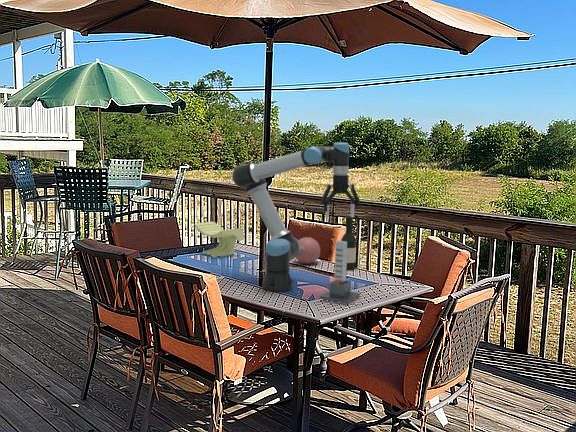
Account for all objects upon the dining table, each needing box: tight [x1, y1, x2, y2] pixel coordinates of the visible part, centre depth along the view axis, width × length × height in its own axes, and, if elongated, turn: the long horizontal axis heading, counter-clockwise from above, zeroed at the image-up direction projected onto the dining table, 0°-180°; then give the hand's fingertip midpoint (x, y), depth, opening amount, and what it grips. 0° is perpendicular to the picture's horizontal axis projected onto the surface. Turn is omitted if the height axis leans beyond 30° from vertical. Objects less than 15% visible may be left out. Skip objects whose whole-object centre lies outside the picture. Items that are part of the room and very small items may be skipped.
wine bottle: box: [340, 215, 357, 271], centre depth 327 cm, size 8×8×30 cm
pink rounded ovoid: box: [295, 236, 321, 265], centre depth 337 cm, size 15×20×15 cm
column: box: [334, 240, 347, 284], centre depth 270 cm, size 4×4×20 cm
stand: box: [319, 279, 361, 305], centre depth 272 cm, size 14×14×9 cm
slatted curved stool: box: [194, 221, 245, 258], centre depth 361 cm, size 30×16×18 cm, turn 40°
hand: (339, 217), depth 288 cm, fingers open, 13 cm apart
